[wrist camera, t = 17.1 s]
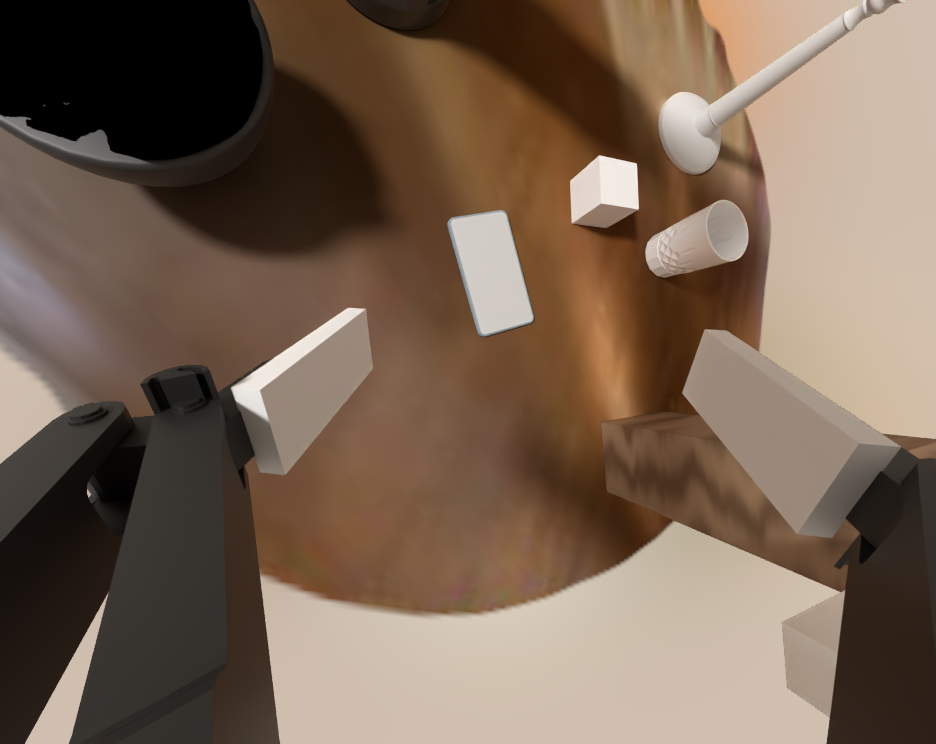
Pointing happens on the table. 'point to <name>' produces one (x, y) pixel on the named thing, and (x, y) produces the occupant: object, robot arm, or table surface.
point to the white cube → (604, 192)
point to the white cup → (699, 241)
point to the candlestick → (743, 95)
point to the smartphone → (491, 271)
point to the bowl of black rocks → (137, 85)
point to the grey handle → (813, 651)
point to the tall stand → (718, 491)
